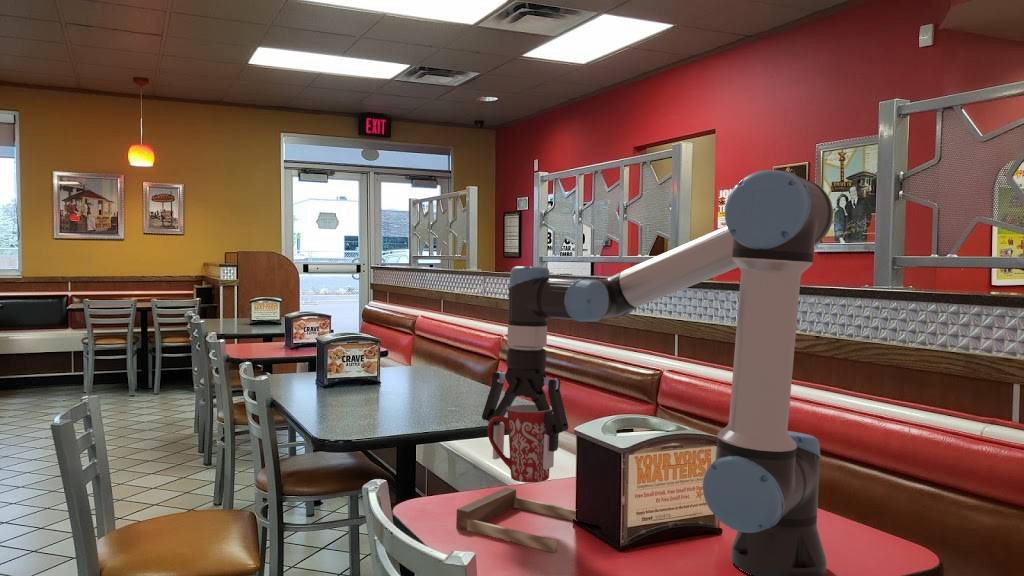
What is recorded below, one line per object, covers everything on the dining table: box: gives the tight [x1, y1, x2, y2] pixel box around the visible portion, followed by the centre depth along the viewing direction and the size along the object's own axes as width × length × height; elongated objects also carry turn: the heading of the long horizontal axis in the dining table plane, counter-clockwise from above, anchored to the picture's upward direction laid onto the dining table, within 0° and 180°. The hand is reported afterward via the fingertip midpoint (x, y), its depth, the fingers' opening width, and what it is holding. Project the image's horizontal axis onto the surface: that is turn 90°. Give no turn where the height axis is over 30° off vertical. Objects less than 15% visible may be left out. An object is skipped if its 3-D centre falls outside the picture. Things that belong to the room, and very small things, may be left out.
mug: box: [487, 403, 553, 484], centre depth 142 cm, size 13×9×14 cm
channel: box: [455, 486, 577, 554], centre depth 141 cm, size 21×17×4 cm
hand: (522, 462), depth 142 cm, fingers closed on mug, 10 cm apart
